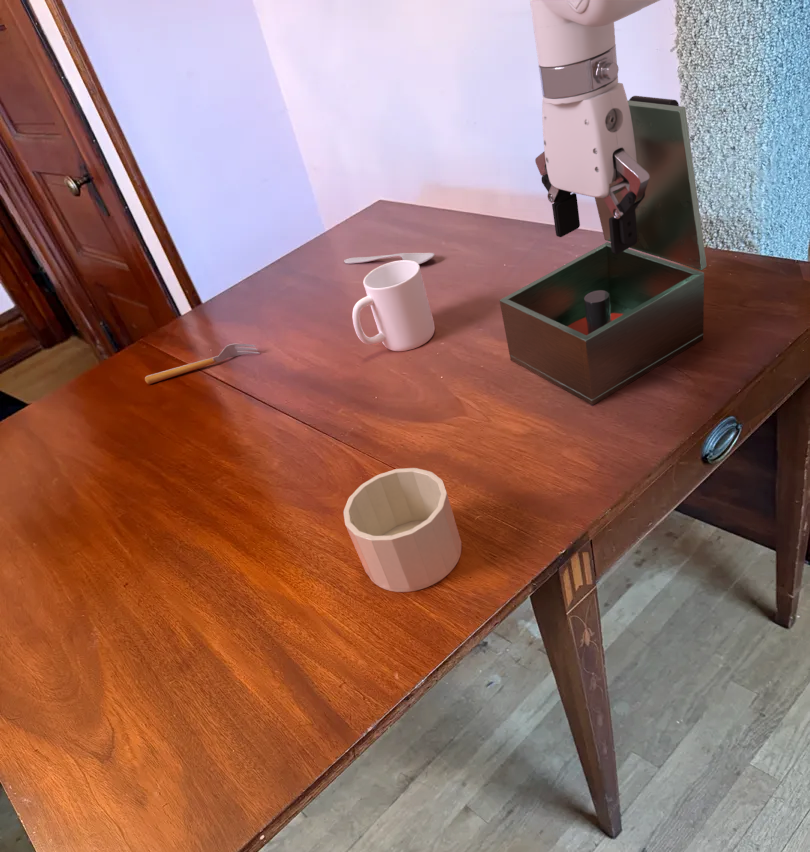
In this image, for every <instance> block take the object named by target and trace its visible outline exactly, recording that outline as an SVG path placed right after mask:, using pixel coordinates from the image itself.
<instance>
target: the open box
mask: <svg viewBox="0 0 810 852" xmlns="http://www.w3.org/2000/svg"><path fill="white" fill-rule="evenodd" d="M598 290H603V291H607V292H608V293H609V298H610V311H611V313H619V314H623V315H622V316H620V317H618V318H616V319H615V320H613V321H611V322H609V323H607V324H606V325H604V326H602V327H600V328H599V329H597V330H595V331H593V332H592V333H590V334H588V335H584V334H582V333H580V332H578V331H576V330H573V329H571V328H569V327H567V326H569V325H570V324H572V323H574V322H575V321H578V320H580V319H583V318H585V317H586V312H585V302H584V297H585V296H586V295H587V294H588V293H590V292H593V291H598ZM704 303H705V272H703V271H701V270H698V269H695V268H692V267H689V266H686V265H682V264H679V263H676V262H673V261H670V260H667V259H663V258H660V257H657V256H654V255H651V254H648V253H644V252H641V251H638V250H635V249H632V248H628V249H626V250H624V251H622V252H621V253H619V254H614V253H612V250H611V242H610V241H606V242H604V243H603V244H601V245H599V246H597V247H595V248H592V249H591V250H590V251H587V252H586V253H584V254H582V255H579V257H576V258H575V259H573V260H571V261H569V262H568V263H566V264H563V265H562V266H559V267H558V268H555V269H554V270H552V271H550V272H549V273H547V274H545V275H543V276H542V277H540V278H538V279H536V280H534V281H532V282H531V283H528V284H527V285H525V286H523V287H521V288H519V289H517V290H515V291H514V292H512V293H510V294H508V295H506V296H505V297H502V298H501V299H499V305H500V312H501V317H502V321H503V327H504V328H503V329H504V333H505V338H506V343H507V348H508V349H507V350H508V354H509V359H510V361H512V362H513V363H515V364H517V365H519V366H521V367H523V368H525V369H526V370H528V371H530V372H532V373H533V374H535V375H537V376H539V377H541V378H543V379H544V380H546V381H548V382H549V383H552V384H553V385H555V386H557V387H559V388H560V389H562V390H564V391H566V392H568V393H569V394H571V395H573V396H575V397H576V398H578V399H580V400H581V401H584V402H585V403H587V404H589V405H591V406H595V405H596V404H597V403H599V402H601V401H602V400H604V399H606V398H607V397H609V396H611V395H612V394H614V393H616V392H618V391H620V390H621V389H622V388H624V387H626V386H628V385H629V384H631V383H632V382H634V381H636V380H638V379H639V378H641V377H643V376H645V375H647V374H648V373H649V372H651V371H653V370H654V369H656V368H658V367H660V366H661V365H663V364H664V363H666V362H667V361H670V360H671V359H673V358H674V357H677V356H678V355H680V354H681V353H683V352H684V351H686V350H688V349H689V348H691V347H693V346H695V345H696V344H698V343H699V342H701V341H703V340H704V328H705V327H704V326H705V325H704V324H705V317H704V316H705V315H704V314H705V313H704V312H705V308H704V307H705V304H704Z"/></svg>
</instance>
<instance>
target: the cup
mask: <svg viewBox="0 0 810 852" xmlns="http://www.w3.org/2000/svg"><path fill="white" fill-rule="evenodd" d="M362 283H363V287H364V290H365V293H366V296H364V297H362V298H360V299H359V300H358V301H357V302H356V303H355V304H354V306H353V308H352V315H351V316H352V324H353V329H354V332H355V334H356V336H357V337H358V339H359V340H360V342H362V343H363V344H364V345H367V346H375V345H378V344H381V343H382V345H383V346H384V347H385V348H386V349H387V350H390V351H393V352H406V351H411V350H414V349H417V348H419V347H422V346H423V345H425V344H426V343H427V342H429V341H430V340H431V339H432V337H433V336H434V334H435V331H436V330H435V329H436V327H435V321H434V318H433V317H434V316H433V314H432V309H431V306H430V301H429V298H428V294H427V289H426V285H425V282H424V279H423V275H422V270H421V266H420V264H418V263H417V262H415V261H411V260H403V259H402V260H401V259H399V260H394V261H390V262H386V263H384V264H381V265H380V266H377V267H375V268H374V269H372V270H371V271H369V272H368V273H367V274H366V275H365V276H364V277H363V281H362ZM369 306H370V309H371V313H372V315H373V319H374V321H375V325H376V328H377V332H378V334H375V335H373V336H368V335H366V333H365V331H364V329H363V327H362V323H361V322H362V321H361V312H362V310H363V309H364V308H367V307H369Z"/></svg>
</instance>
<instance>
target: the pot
mask: <svg viewBox="0 0 810 852" xmlns="http://www.w3.org/2000/svg"><path fill="white" fill-rule="evenodd" d="M342 512H343V519H344V525H345V528H346V530H347V532H348V535H349V537H350V539H351V542H352V544H353V546H354V549H355V551H356V553H357V555H358V557H359V558H358V559H359V560H360V562H361V566H362V567H363V569H364V571H365V574H366V575H367V576H368V578H369V580H371V582H373V584H374V585H376V586H377V587H379V588H381V589H382V590H385V591H390V592H395V593H409V592H410V593H411V592H416V591H421V590H424V589H426V588H429V587H432V586H433V585H436V584H437V583H439V582H440V581H441V580H443V579H444V578H446V577H447V576H448V575H449V574H451V572H452V571H453V570H454V568H456V565H457V564H458V562H459V560H460V558H461V555H462V549H463V548H462V540H461V536H460V533H459V530H458V526H457V523H456V519H455V516H454V512H453V509H452V505H451V503H450V498H449V494H448V492H447V489H446V485H445V483H444V480H443V479H442V478H441V477H439V476H438V475H436V473H434V472H433V471H429V470H427V469H422V468H419V467H407V468H395V469H392V470H389V471H386V472H382V473H380V474H379V473H378V474H376V475H375V476H373V477H371V478H370V479H368V480H367V481H365V482H363V483H362V484H360V485H359V486H358V487H357V488H356V490H354V491H353V493H351V495H350V496H349V497H348V499H347V501H346V504H345V506H344V509H343V511H342Z"/></svg>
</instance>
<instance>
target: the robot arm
mask: <svg viewBox="0 0 810 852" xmlns="http://www.w3.org/2000/svg"><path fill="white" fill-rule="evenodd" d="M660 1H661V0H529V3H530V4H529V5H530V11H531V19H532V26H533V34H534V42H535V48H536V56H537V64H538V72H539V73H538V74H539V80H540V87H541V95H542V99H541V100H542V102H541V103H542V104H541V110H542V112H541V116H542V138H543V150H544V151H542V152H541V153H540V154H539V155H538V156H536V157H535V160H534V162H535V165H536V167H537V170H538V172H539V174H540V176H541V184H542V185H543V186H544V188H545V190H546V191H547V199H548V201H549V203H551V207H552V209H551V210H552V215H553V216H552V217H553V222H554V223H553V224H554V231H555V236H556V237H559V238H563V237H564V236H566V235H568V234H570V233H572V232H574V231H577V230H578V229H579V228H580V227H581V222H580V213H579V203H578V197H577V195H581V196H586V197H591V198H594V199H595V198H603V199H604V201H605V203H606V205H607V206H608V208H609V210H610V211H611V213H612V215H613V217H611V218H609V228H610V240H611V242H610V243H611V250H612V253H614V254H619V253H621V252H622V251H624V250H626V249H631V248H630V247H632V246H633V245H635V244H636V243H637V228H636V212H635V210H636V209H638V208H639V206H640V202H641V201H642V200H643V198H644V197H645V190H646V187H647V184H648V181H649V174H648V172H647V171H646V170H644V169H643V168H642V167H641V166H640V165H639V164H638V163H637V159H636V149H635V140H634V133H633V126H632V120H631V114H630V109H629V105H628V101H629V100H628V98H627V93H626V89H625V86H624V84H623V83H621V82H619V65H618V59H617V46H616V45H617V44H616V34H615V29H616V28H615V22H618V21H620V20H622V19H624V18H626V17H628V16H631V15H633V14H635V13H637V12H639V11H641V10H642V9H645V8H647V7H650V6H651V5H653V4H655V3H657V2H660ZM627 100H628V101H627ZM612 182H615V183H617V184H616V185H614V186H612V187H610V188H609V184H611V183H612ZM618 192H620V193H621V195H622V196H623V199H622V201H621V202H620V203H619V202H618V200H617V198H616V197H615V195H614V194H616V193H618Z"/></svg>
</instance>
